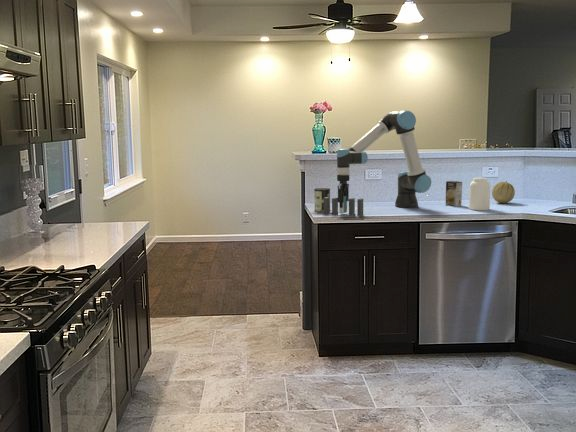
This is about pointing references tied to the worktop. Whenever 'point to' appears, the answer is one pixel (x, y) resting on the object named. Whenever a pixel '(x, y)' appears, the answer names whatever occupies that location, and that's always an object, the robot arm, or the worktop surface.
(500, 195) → the cantaloupe
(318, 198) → the coffee can
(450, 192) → the coffee box
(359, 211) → the domino
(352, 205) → the domino
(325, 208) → the domino
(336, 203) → the domino
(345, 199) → the teal domino
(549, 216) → the worktop surface
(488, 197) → the cream jar
